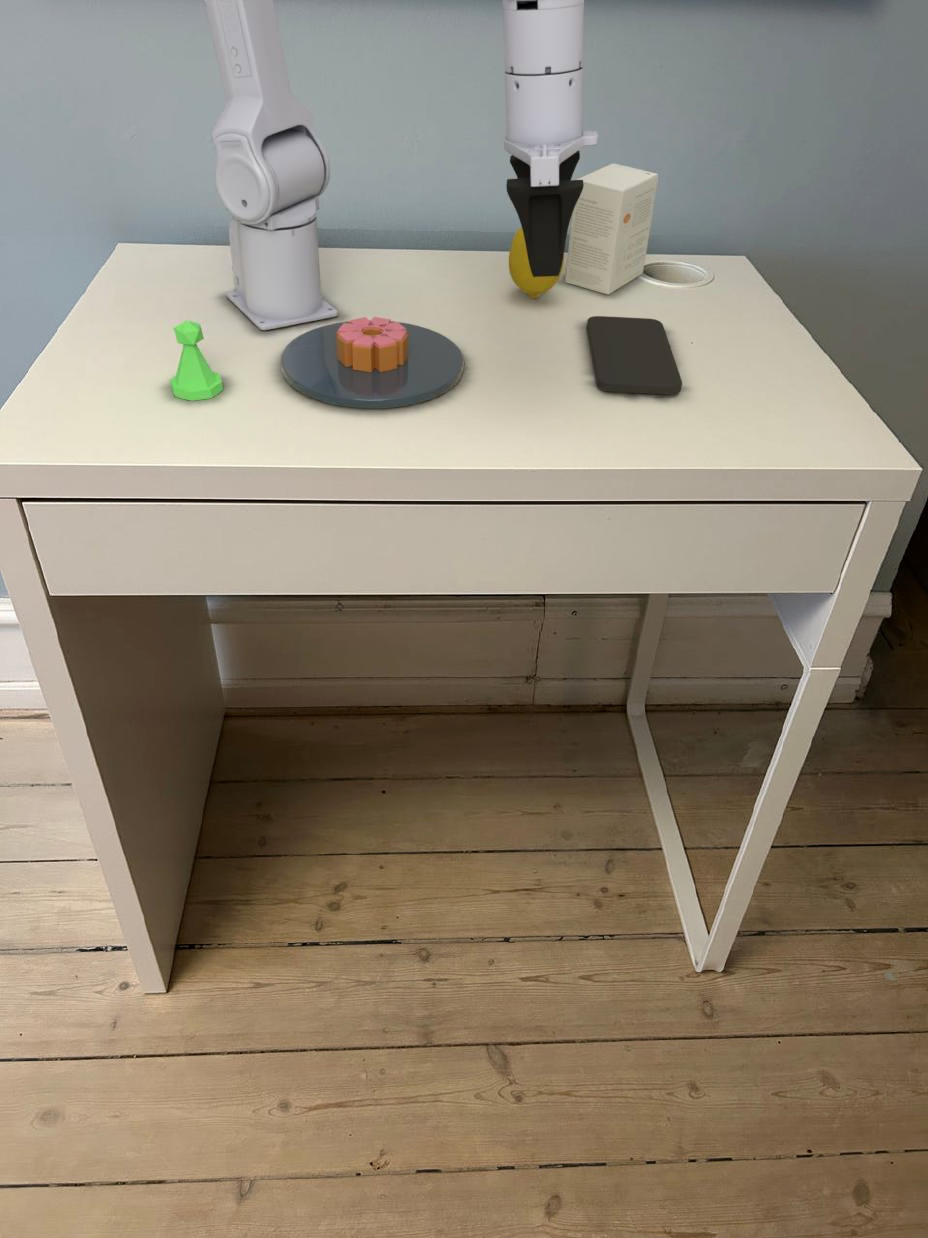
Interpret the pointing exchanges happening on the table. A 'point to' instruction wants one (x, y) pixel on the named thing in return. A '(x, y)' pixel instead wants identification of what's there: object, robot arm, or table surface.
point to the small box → (611, 228)
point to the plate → (330, 381)
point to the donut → (372, 344)
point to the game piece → (193, 367)
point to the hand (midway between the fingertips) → (545, 259)
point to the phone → (632, 355)
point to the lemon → (527, 269)
